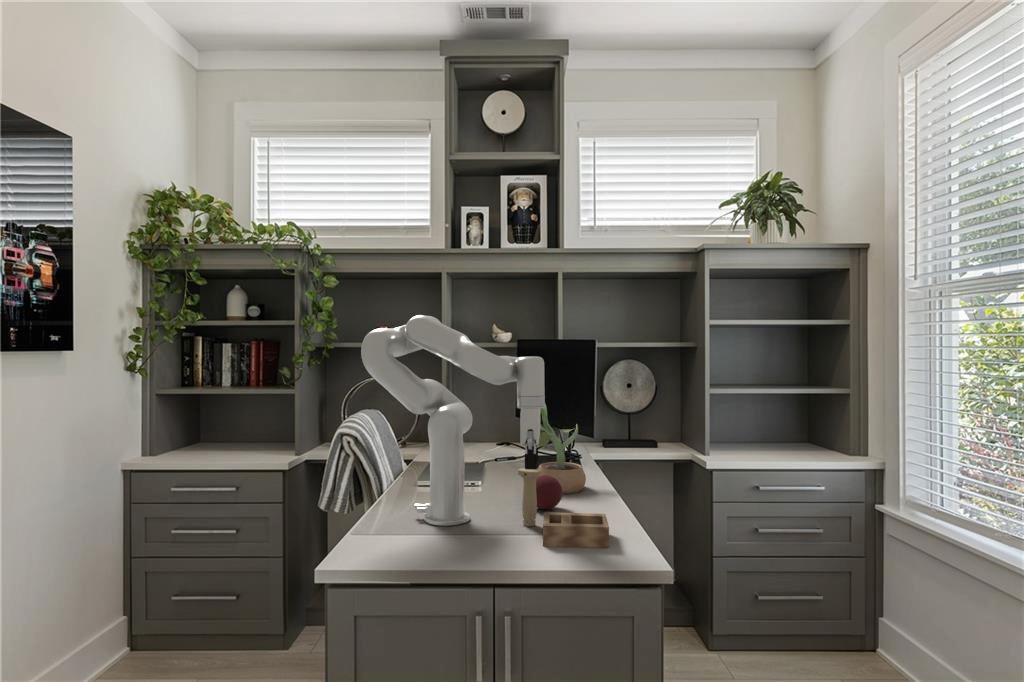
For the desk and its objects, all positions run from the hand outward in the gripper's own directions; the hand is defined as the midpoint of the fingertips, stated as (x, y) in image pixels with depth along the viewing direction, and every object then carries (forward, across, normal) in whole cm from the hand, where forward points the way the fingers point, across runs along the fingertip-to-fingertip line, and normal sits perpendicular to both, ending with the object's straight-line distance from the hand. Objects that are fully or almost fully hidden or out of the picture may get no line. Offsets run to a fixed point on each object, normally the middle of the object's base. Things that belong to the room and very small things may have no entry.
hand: (531, 465), depth 175 cm
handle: (+16, 0, -1) cm, 16 cm away
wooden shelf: (+16, +11, +11) cm, 23 cm away
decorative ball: (+16, -17, +3) cm, 24 cm away
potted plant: (+16, -44, +5) cm, 47 cm away
